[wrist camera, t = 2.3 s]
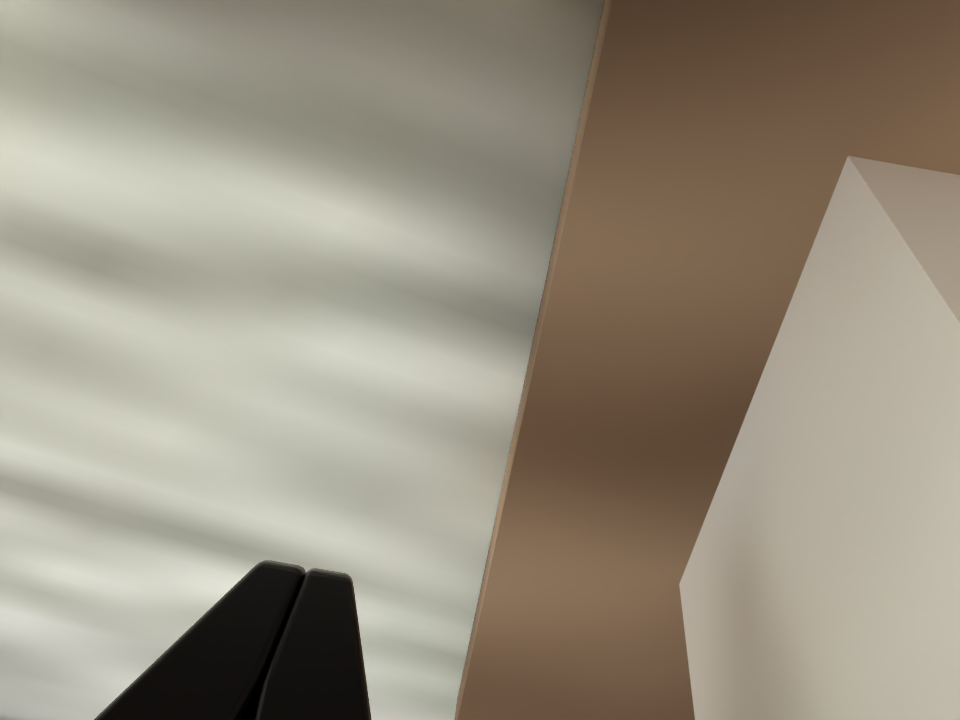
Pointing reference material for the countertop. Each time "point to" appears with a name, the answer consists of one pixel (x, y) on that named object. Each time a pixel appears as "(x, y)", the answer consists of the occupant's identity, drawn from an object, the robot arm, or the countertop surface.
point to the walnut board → (677, 318)
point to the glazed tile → (845, 480)
